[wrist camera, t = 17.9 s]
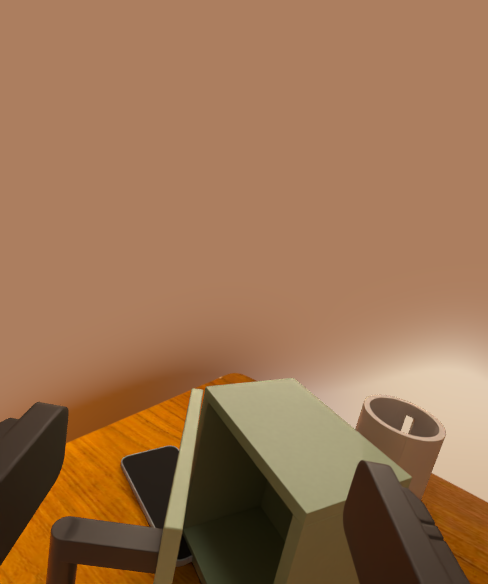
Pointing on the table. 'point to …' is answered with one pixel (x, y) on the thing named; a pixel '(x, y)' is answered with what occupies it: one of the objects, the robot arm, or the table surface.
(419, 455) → the cup
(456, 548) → the table surface
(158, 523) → the smartphone
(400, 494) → the robot arm
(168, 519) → the cupboard door
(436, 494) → the table surface
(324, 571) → the cupboard
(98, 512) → the table surface
